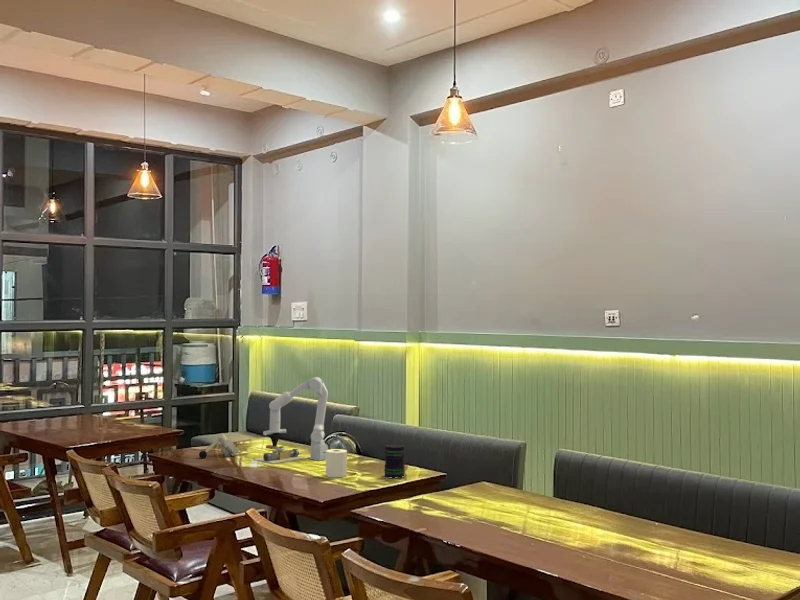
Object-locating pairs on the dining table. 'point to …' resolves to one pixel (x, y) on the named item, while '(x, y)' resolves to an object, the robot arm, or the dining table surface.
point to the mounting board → (278, 460)
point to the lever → (280, 448)
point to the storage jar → (394, 460)
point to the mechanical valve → (225, 443)
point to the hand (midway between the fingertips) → (274, 447)
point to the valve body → (281, 455)
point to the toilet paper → (336, 463)
